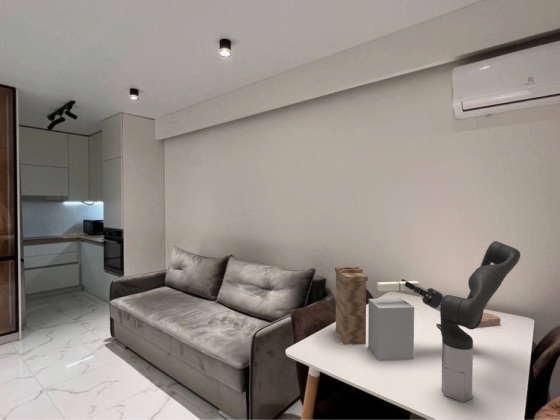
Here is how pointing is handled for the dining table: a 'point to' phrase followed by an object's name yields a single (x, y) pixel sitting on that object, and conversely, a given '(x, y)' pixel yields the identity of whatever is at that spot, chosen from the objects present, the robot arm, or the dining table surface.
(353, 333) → the walnut shelf
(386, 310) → the grey step block
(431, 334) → the dining table surface
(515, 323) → the dining table surface
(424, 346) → the dining table surface
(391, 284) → the domino bar
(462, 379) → the robot arm
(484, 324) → the brick
